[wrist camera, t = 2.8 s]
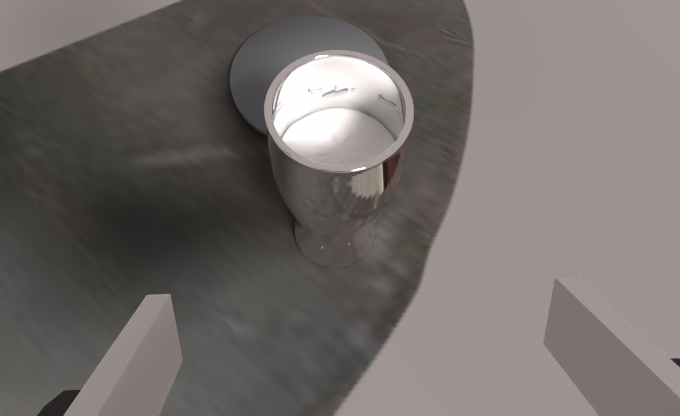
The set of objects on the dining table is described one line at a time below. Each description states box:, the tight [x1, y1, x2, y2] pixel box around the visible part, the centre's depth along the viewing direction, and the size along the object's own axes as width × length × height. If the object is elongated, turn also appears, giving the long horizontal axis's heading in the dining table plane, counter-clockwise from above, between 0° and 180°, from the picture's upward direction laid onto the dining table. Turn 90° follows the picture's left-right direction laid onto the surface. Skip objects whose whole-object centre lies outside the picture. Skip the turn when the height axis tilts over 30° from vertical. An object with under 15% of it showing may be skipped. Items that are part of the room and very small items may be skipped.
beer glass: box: [264, 50, 414, 269], centre depth 25 cm, size 7×7×15 cm
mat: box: [230, 16, 388, 137], centre depth 38 cm, size 14×14×1 cm
